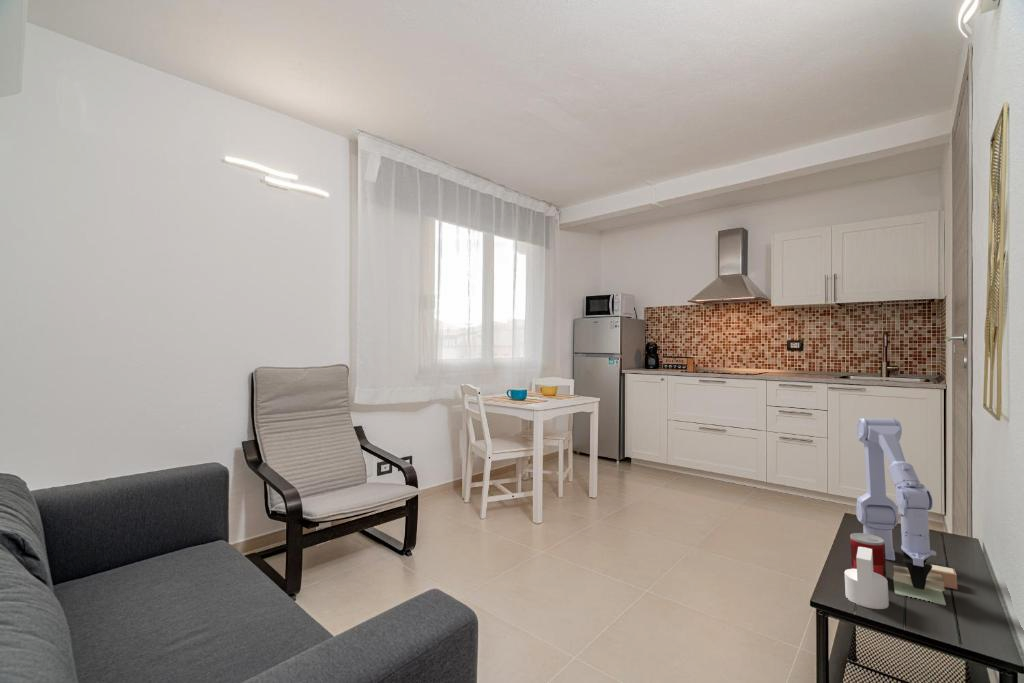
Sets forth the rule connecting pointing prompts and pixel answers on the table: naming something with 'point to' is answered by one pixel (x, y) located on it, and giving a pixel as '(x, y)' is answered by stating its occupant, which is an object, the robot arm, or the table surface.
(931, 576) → the beige block
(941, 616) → the table surface
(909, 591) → the mat
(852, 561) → the canned food
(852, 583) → the cylinder with rectangular tab
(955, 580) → the brown and cream block
